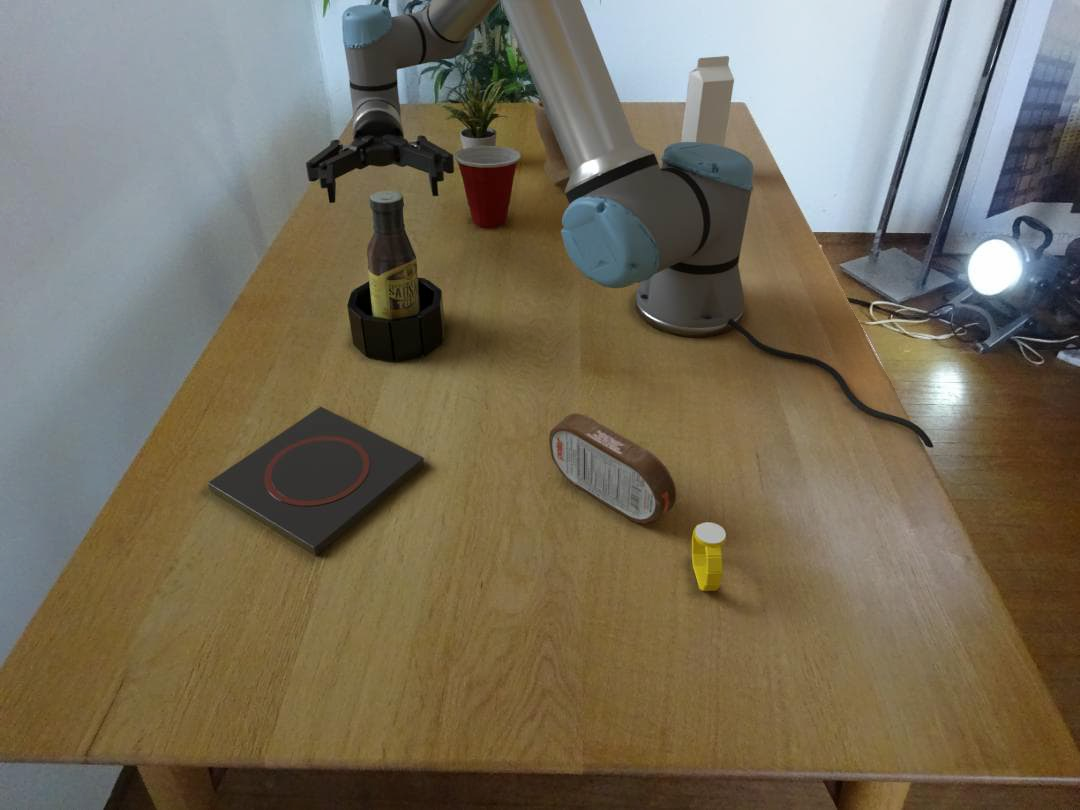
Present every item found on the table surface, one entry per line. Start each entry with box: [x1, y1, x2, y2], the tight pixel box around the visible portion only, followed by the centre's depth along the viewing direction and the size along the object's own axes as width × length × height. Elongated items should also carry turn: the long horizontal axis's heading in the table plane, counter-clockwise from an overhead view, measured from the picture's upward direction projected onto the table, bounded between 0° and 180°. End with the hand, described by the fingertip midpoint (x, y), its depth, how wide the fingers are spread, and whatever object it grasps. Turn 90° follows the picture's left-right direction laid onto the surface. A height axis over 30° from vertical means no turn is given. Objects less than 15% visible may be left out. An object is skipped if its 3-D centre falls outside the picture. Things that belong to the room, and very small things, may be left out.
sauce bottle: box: [366, 190, 420, 319], centre depth 103 cm, size 7×6×20 cm
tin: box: [548, 412, 677, 525], centre depth 82 cm, size 15×3×8 cm, turn 47°
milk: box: [680, 55, 735, 147], centre depth 147 cm, size 6×6×22 cm
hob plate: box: [207, 406, 425, 557], centre depth 87 cm, size 16×16×1 cm
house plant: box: [436, 76, 508, 149], centre depth 155 cm, size 14×14×16 cm
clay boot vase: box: [534, 99, 570, 190], centre depth 148 cm, size 15×12×15 cm
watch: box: [691, 521, 727, 592], centre depth 75 cm, size 6×3×6 cm, turn 3°
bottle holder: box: [346, 276, 446, 363], centre depth 108 cm, size 12×12×6 cm
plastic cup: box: [454, 145, 521, 230], centre depth 135 cm, size 11×11×12 cm
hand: (383, 189), depth 107 cm, fingers open, 13 cm apart
